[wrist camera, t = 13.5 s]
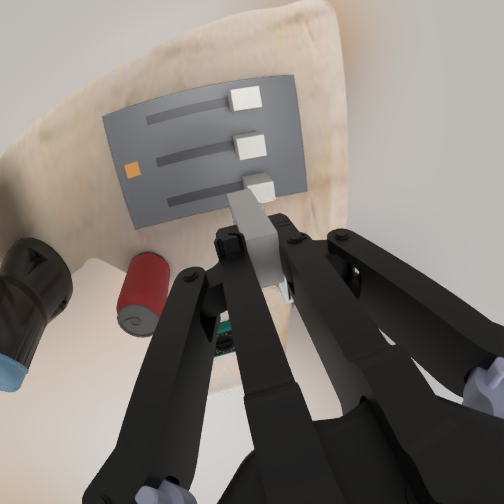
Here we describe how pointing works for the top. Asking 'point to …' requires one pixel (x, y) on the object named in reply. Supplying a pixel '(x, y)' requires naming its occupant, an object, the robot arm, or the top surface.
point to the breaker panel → (206, 148)
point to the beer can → (143, 295)
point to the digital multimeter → (224, 340)
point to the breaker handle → (249, 145)
